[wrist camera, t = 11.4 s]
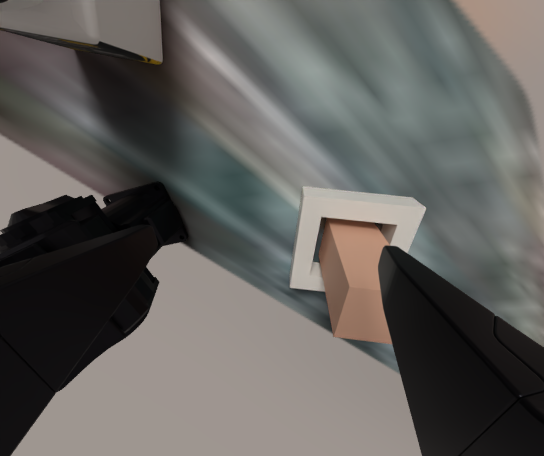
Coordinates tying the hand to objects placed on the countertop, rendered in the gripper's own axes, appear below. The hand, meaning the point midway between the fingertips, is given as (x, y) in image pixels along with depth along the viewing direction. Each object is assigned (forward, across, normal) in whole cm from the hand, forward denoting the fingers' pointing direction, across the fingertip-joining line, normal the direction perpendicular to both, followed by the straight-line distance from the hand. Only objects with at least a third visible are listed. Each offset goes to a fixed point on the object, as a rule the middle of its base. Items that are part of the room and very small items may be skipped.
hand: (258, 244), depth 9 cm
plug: (+14, -5, +8) cm, 17 cm away
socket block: (+14, -5, +8) cm, 17 cm away
